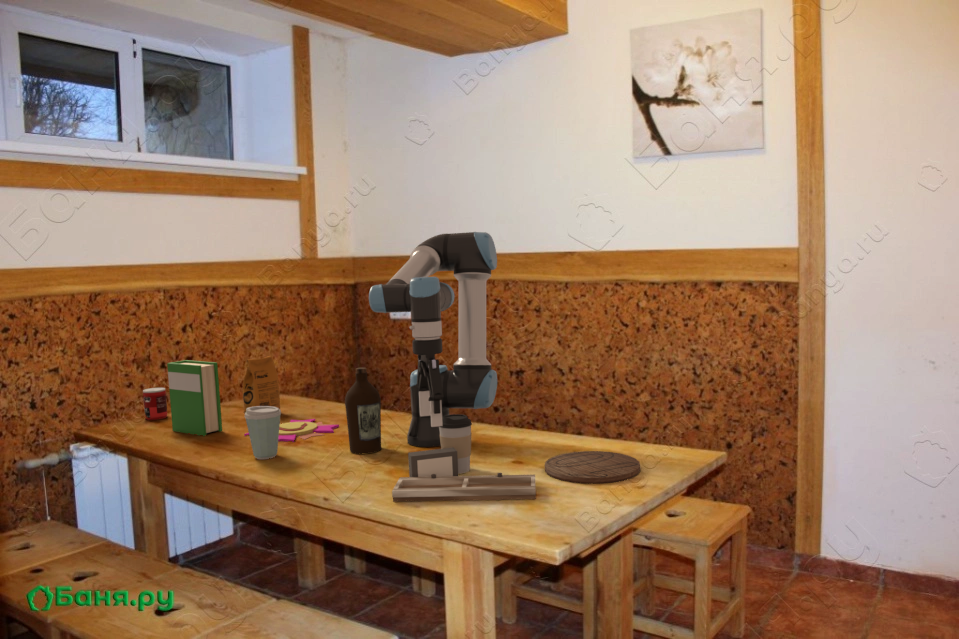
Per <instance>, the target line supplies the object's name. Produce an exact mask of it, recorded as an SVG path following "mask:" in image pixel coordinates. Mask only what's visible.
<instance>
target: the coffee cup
mask: <svg viewBox="0 0 959 639" xmlns="http://www.w3.org/2000/svg"><path fill="white" fill-rule="evenodd" d="M442 425H443V426H439V430H440V443H441V446H440V449H443V448H452V447H454V448H455V449H456V450H457V456H458V475H459V474H464V473H465V474H466V473H468V472H469V471H470V469H471V455H472V425H473V423H472V420H471V419H470V418H469V417H468V415H466V414H461V413H460V414H459V413H458V414H457V413H455V414H454V413H453V414H449V415H446V416H443V417H442Z"/></svg>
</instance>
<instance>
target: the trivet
mask: <svg viewBox="0 0 959 639" xmlns="http://www.w3.org/2000/svg"><path fill="white" fill-rule="evenodd" d="M544 472H545V474H546V475H547V476H549V477H551V478H552V479H556V480H558V481H561V482H562V481H563V482H566V483H571V484H580V485H581V484H583V485H602V484H604V485H605V484H614V483H619V481H620V482H624V480H625V481H628V480H630V479H633V478H635V477H637V476H638V475H640V472H641V462H640V461H639V459H636V457H633V456H631V455H628V454H623V453H619V452H612V451H604V450H602V451H601V450H584V451H572V452H566V453H565V452H564V453H561V454H557V455H554V456H552V457H550V458H548V459H547V460H546V461H545V462H544ZM627 479H628V480H627Z"/></svg>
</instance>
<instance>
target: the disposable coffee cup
mask: <svg viewBox="0 0 959 639" xmlns="http://www.w3.org/2000/svg"><path fill="white" fill-rule="evenodd" d="M281 410H282V409H281V408H280V409H279V408H277V407H272V406H254V407H249V408H247V409H246V413H245V414H244V418H245V422H246V426H247V429H248V430H247V431H248V432H247V433H249V436H248V437H250V438H249V439H250V444H251V449H252V453H253V456H254V458H255V459H256V458H257V459H256V460H269V458H270V459H274V458H275V456H276V457H277V454H278V448H279V441H278V437H279V425H280V424H281V414H282V411H281ZM273 457H274V458H273Z"/></svg>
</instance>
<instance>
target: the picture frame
mask: <svg viewBox="0 0 959 639" xmlns="http://www.w3.org/2000/svg"><path fill="white" fill-rule="evenodd" d="M407 456H408V458H407V459H408V460H407V461H408V477H431V475H432V474H436V477H442V476H459V474H458V456H457V450H456V449H455V448H454V447H452V448H443V449H441V448H436V449H426V450H419V451H411V452H407Z"/></svg>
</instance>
